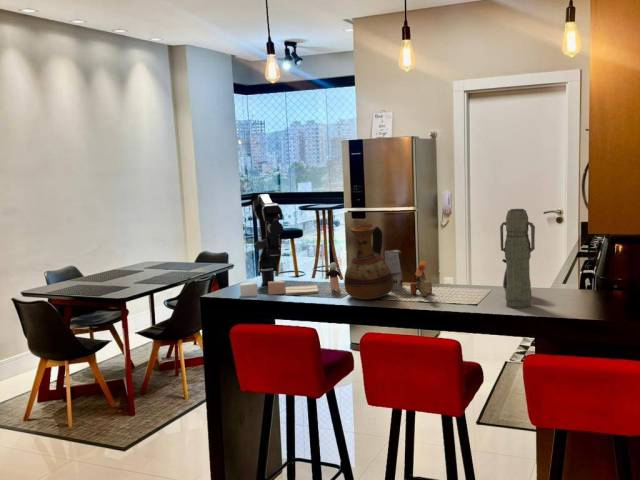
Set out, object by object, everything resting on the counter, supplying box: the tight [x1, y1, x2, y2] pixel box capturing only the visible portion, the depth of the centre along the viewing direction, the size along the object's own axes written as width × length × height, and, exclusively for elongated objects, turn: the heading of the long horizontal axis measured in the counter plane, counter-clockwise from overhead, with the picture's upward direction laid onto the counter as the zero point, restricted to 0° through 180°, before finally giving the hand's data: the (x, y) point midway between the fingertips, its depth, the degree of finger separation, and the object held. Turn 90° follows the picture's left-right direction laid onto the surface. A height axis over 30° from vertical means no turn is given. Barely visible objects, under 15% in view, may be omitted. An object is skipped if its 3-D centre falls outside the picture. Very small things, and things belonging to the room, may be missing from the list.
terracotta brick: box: [267, 280, 286, 295], centre depth 273 cm, size 4×7×5 cm, turn 94°
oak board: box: [285, 284, 319, 296], centre depth 274 cm, size 14×14×1 cm
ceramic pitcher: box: [343, 223, 393, 300], centre depth 253 cm, size 20×20×30 cm
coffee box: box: [384, 249, 404, 291], centre depth 268 cm, size 9×6×16 cm
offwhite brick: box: [239, 281, 258, 297], centre depth 272 cm, size 4×7×5 cm, turn 94°
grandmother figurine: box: [324, 261, 343, 293], centre depth 269 cm, size 8×4×13 cm, turn 84°
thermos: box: [499, 208, 536, 309], centre depth 223 cm, size 9×12×35 cm
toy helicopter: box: [409, 260, 433, 298], centre depth 247 cm, size 8×21×14 cm, turn 2°
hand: (275, 268), depth 272 cm, fingers open, 9 cm apart
